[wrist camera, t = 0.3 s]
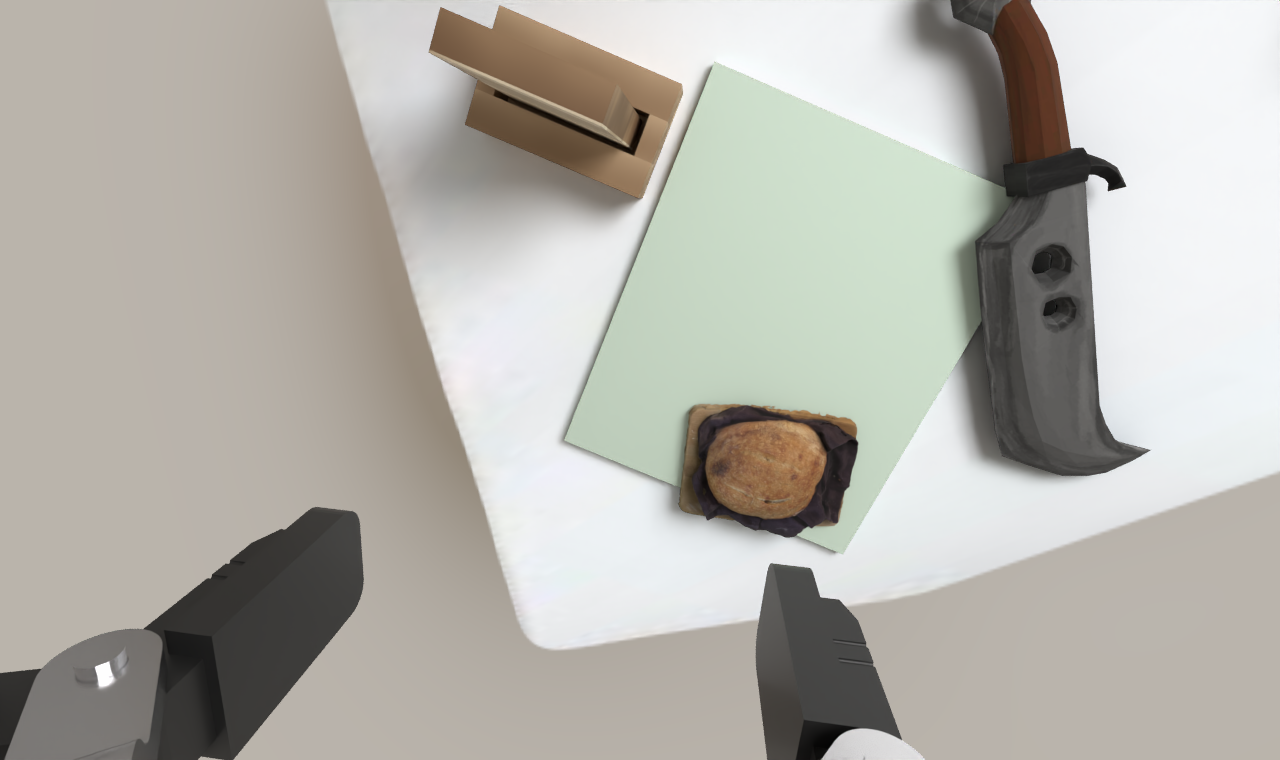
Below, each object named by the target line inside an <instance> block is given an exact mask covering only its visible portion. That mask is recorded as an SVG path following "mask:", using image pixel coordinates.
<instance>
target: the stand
mask: <svg viewBox="0 0 1280 760" xmlns="http://www.w3.org/2000/svg"><path fill="white" fill-rule="evenodd" d="M492 30H495V31H497V32H499V33H502V34H504V35H506V36H509V37H511V38H513V39H515V40H518V41H520V42H522V43H525V44H527V45H529V46H532V47H534V48H536V49H539V50H541V51H543V52H546V53H548V54H550V55H553V56H555V57H557V58H560V59H562V60H564V61H566V62H569V63H571V64H573V65H576V66H578V67H580V68H583V69H585V70H587V71H590V72H592V73H594V74H597V75H599V76H601V77H604V78H606V79H608V80H611V81H613V82H615V83H617V84H618V86H619V87H620V89H621V90H622V92H623V93H624V95H625V96H626V98H627V99H628V101H629V102H630V104H631V105H632V107H633V108H634V110H635V111H636V113H637V114H638V116H639V117H640V119H641V120H642V125H641V127H640V130H639V133H638V135H637V138H636V141H635V143H634V146H633V149H632V150H630V149H628V148H626V147H623V146H621V145H619V144H616V143H614V142H612V141H609V140H607V139H605V138H602V137H600V136H598V135H595V134H593V133H591V132H588V131H586V130H584V129H581V128H579V127H577V126H574V125H572V124H569V123H567V122H565V121H562V120H560V119H558V118H555V117H553V116H551V115H548V114H546V113H544V112H541V111H539V110H537V109H534V108H532V107H530V106H527V105H525V104H523V103H520V102H518V101H516V100H514V99H512V98H511V97H509V96H507V95H505V94H503V93H501V92H500V91H498V90H496V89H494V88H492V87H491V86H489V85H487V84H485V83H483V82H481V81H480V80H478V81H477V84H476V88H475V91H474V95H473V98H472V102H471V105H470V109H469V112H468V116H467V119H466V122H465V125H467V126H469V127H472V128H474V129H476V130H479V131H481V132H484V133H486V134H488V135H491V136H493V137H495V138H498V139H500V140H502V141H505V142H507V143H509V144H512V145H514V146H516V147H519V148H521V149H524V150H526V151H528V152H531V153H533V154H535V155H538V156H540V157H542V158H545V159H547V160H549V161H552V162H554V163H556V164H559V165H561V166H564V167H566V168H568V169H571V170H573V171H575V172H578V173H580V174H582V175H585V176H587V177H589V178H592V179H594V180H597V181H599V182H601V183H604V184H606V185H608V186H611V187H613V188H615V189H618V190H620V191H622V192H625V193H627V194H629V195H632V196H634V197H637V198H643V196H644V193H645V190H646V188H647V185H648V183H649V180H650V178H651V175H652V172H653V170H654V167H655V165H656V162H657V160H658V157H659V154H660V152H661V149H662V147H663V144H664V142H665V139H666V136H667V134H668V131H669V129H670V126H671V124H672V121H673V118H674V116H675V113H676V111H677V108H678V105H679V103H680V100H681V98H682V95H683V89H682V84H680V83H678V82H676V81H673V80H671V79H669V78H666V77H664V76H662V75H659V74H657V73H655V72H652V71H650V70H648V69H645V68H643V67H641V66H639V65H636V64H634V63H632V62H629V61H627V60H625V59H622V58H620V57H618V56H615V55H613V54H611V53H609V52H606V51H604V50H602V49H599V48H597V47H595V46H592V45H590V44H588V43H585V42H583V41H581V40H578V39H576V38H574V37H572V36H569V35H567V34H565V33H562V32H560V31H558V30H555V29H553V28H551V27H548V26H546V25H544V24H541V23H539V22H537V21H535V20H532V19H530V18H528V17H525V16H523V15H521V14H518V13H516V12H514V11H511V10H509V9H507V8H505V7H502V6H500V5H499V8H498V12H497V15H496V19H495V22H494V26H493V29H492Z"/></svg>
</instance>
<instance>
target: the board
mask: <svg viewBox="0 0 1280 760" xmlns="http://www.w3.org/2000/svg"><path fill="white" fill-rule="evenodd" d="M429 53H431V54H432V55H434V56H436V57H438V58H440V59H441V60H443V61H445V62H447V63H449V64H451V65H452V66H454V67H456V68H458V69H460V70H461V71H463V72H465V73H467V74H469V75H471V76H472V77H474V78H476V79H478V80H480V81H481V82H483V83H485V84H487V85H489V86H491V87H492V88H494V89H496V90H498V91H500V92H501V93H503V94H505V95H507V96H509V97H511V98H512V99H514V100H516V101H518V102H520V103H523V104H525V105H527V106H530V107H532V108H534V109H537V110H539V111H541V112H544V113H546V114H548V115H551V116H553V117H555V118H558V119H560V120H562V121H565V122H567V123H569V124H572V125H574V126H577V127H579V128H581V129H584V130H586V131H588V132H591V133H593V134H595V135H598V136H600V137H602V138H605V139H607V140H609V141H612V142H614V143H616V144H619V145H621V146H623V147H626V148H628V149H630V150H632V149H633V146H634V143H635V141H636V138H637V135H638V133H639V130H640V127H641V125H642V120H641V119H640V117H639V116H638V114H637V113H636V111H635V110H634V108H633V107H632V105H631V104H630V102H629V101H628V99H627V98H626V96H625V95H624V93H623V92H622V90H621V89H620V87H619V86H618V84H617V83H615V82H613V81H611V80H608V79H606V78H604V77H601V76H599V75H597V74H594V73H592V72H590V71H587V70H585V69H583V68H580V67H578V66H576V65H573V64H571V63H569V62H566V61H564V60H562V59H560V58H557V57H555V56H553V55H550V54H548V53H546V52H543V51H541V50H539V49H536V48H534V47H532V46H529V45H527V44H525V43H522V42H520V41H518V40H515V39H513V38H511V37H509V36H506V35H504V34H502V33H499V32H497V31H495V30H492V29H490V28H488V27H485V26H483V25H481V24H478V23H476V22H474V21H471V20H469V19H467V18H464V17H462V16H460V15H457V14H455V13H453V12H451V11H448V10H446V9H444V8H441V7H440V11H439V15H438V19H437V22H436V26H435V30H434V34H433V38H432V41H431V45H430V49H429Z"/></svg>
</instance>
